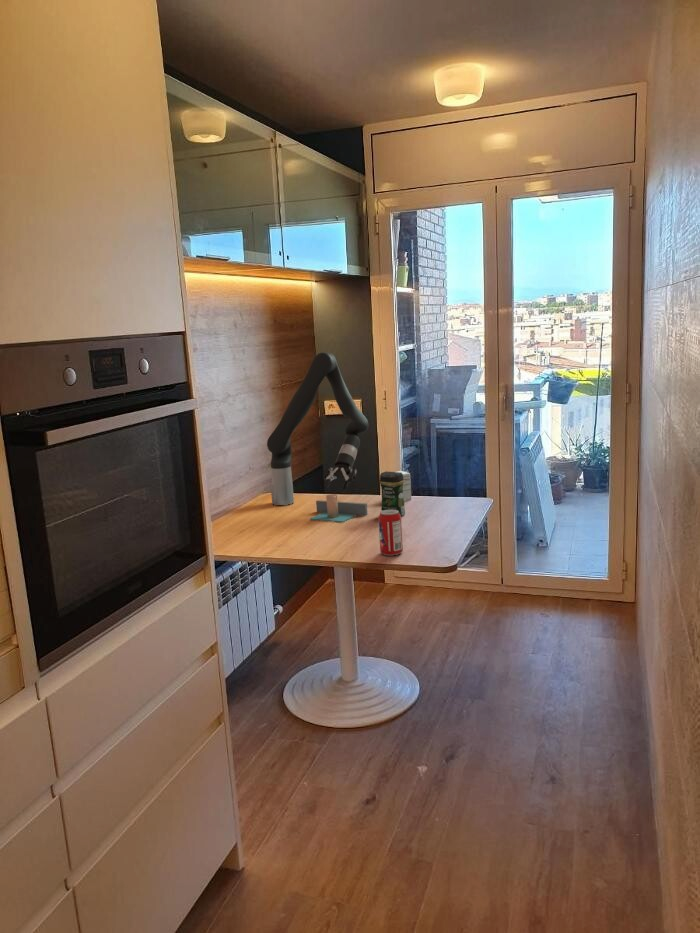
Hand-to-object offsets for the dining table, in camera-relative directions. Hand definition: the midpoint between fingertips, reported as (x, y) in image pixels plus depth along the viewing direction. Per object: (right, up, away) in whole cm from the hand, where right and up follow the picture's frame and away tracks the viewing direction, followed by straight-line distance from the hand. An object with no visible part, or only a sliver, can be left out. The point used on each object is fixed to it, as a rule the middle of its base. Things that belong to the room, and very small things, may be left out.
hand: (334, 489), depth 308 cm
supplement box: (+29, -6, +23) cm, 38 cm away
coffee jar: (+24, -11, -3) cm, 27 cm away
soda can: (+21, -21, -54) cm, 62 cm away
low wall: (+3, -11, +6) cm, 12 cm away
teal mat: (-1, -12, -1) cm, 12 cm away
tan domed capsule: (-1, -12, -1) cm, 12 cm away
